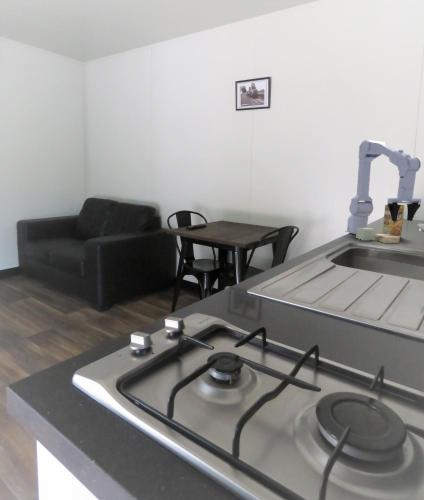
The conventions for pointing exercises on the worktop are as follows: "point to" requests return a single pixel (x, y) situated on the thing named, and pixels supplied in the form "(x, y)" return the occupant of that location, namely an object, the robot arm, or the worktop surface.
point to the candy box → (393, 222)
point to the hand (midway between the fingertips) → (401, 220)
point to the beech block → (387, 238)
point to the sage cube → (365, 233)
